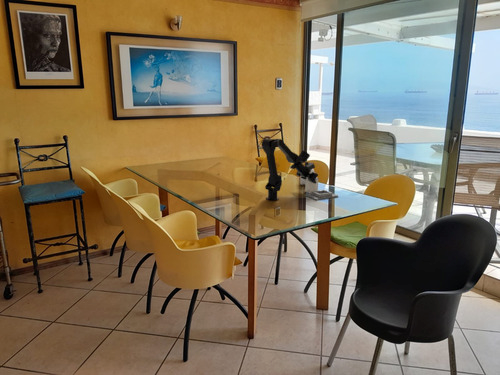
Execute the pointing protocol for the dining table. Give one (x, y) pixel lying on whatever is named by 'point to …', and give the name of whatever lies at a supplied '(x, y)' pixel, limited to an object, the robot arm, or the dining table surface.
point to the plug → (311, 186)
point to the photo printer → (303, 181)
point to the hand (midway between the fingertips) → (313, 182)
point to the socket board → (321, 195)
